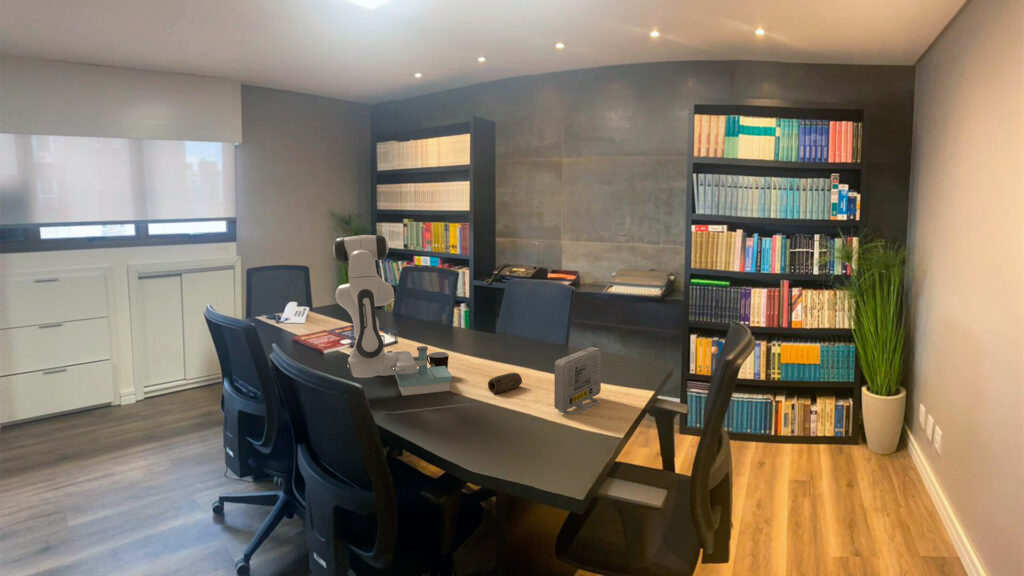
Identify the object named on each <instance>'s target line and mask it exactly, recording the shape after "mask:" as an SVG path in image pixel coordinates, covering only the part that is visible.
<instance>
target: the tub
mask: <svg viewBox="0 0 1024 576" xmlns="http://www.w3.org/2000/svg"><path fill="white" fill-rule="evenodd" d="M450 384H451V382H445V383H435V384H425V385H416V386H406V387H399V384H398V383H397V385H398V388H399V391H400V393H401V395H402V397H403V396H412V395H413V396H414V395H422V394H430V393H440V392H448V391H449V392H450V391H451V385H450Z"/></svg>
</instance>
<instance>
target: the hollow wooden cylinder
mask: <svg viewBox="0 0 1024 576" xmlns="http://www.w3.org/2000/svg"><path fill="white" fill-rule="evenodd" d="M521 384H523V379H522V376H521V374H520V373H517V372H509V373H505V374H500V375H496V376H494V377H492V378H491V379H489V380H488V381H487V387H488V390H489V392H491V393H492V394H501V393H504V392H507V391H510V390H513V389H516V388H517V387H519V386H522V385H521Z"/></svg>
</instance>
